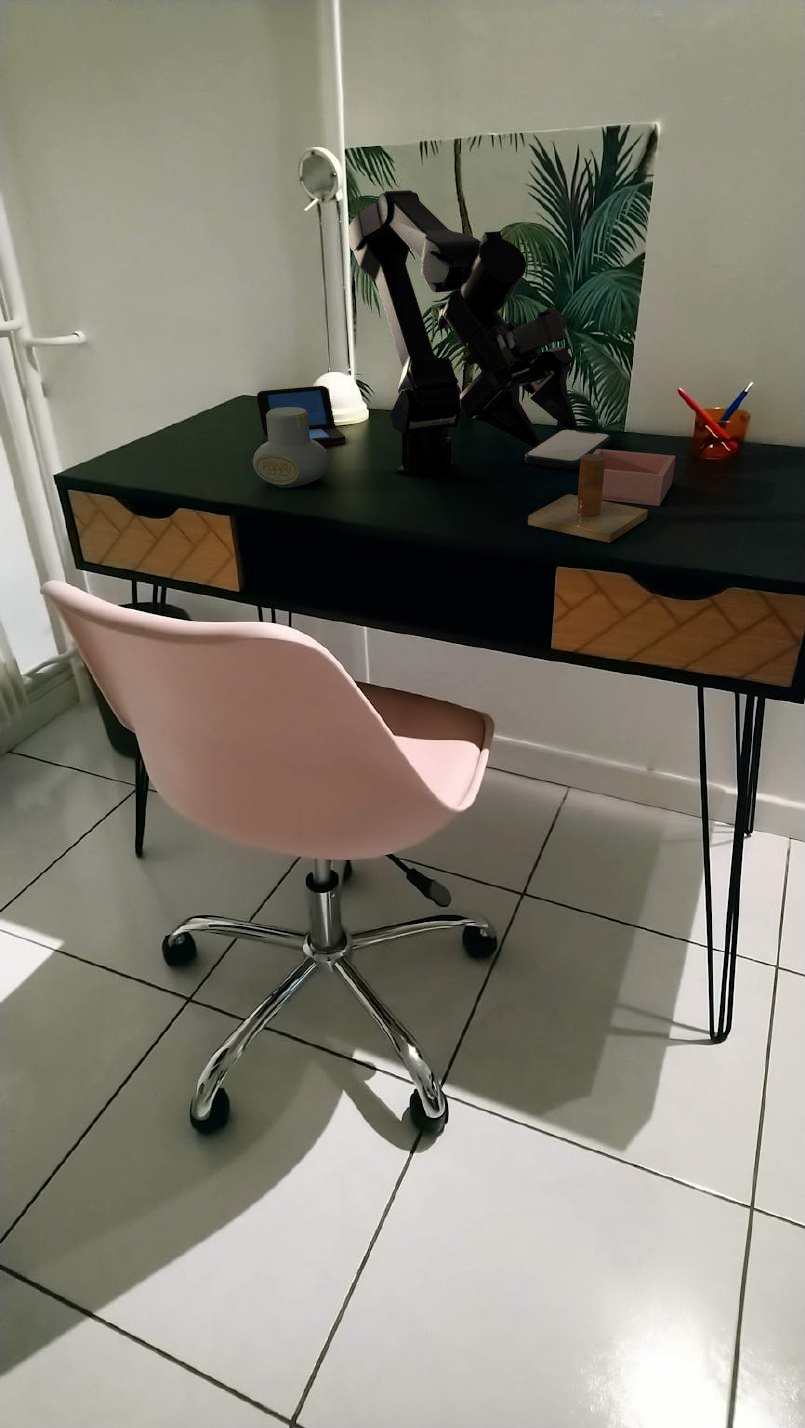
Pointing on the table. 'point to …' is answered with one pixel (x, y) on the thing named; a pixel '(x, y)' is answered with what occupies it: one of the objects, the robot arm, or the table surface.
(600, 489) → the wooden peg stand
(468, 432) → the table surface
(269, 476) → the air freshener
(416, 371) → the robot arm
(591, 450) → the phone case
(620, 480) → the toy box
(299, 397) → the handheld console
